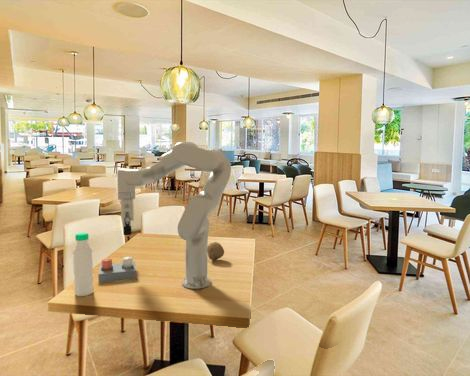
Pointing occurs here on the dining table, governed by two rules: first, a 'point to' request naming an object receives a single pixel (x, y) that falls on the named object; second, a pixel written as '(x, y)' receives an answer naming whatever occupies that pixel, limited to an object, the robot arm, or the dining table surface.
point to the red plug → (106, 264)
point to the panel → (116, 273)
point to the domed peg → (127, 262)
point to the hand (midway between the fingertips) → (127, 232)
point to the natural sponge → (215, 251)
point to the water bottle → (83, 266)
